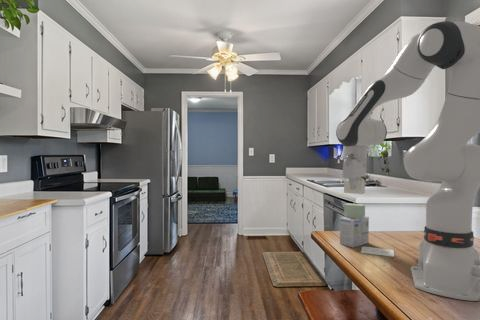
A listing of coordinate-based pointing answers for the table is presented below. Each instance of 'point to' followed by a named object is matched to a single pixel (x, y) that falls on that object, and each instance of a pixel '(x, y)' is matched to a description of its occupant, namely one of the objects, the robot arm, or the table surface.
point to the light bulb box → (354, 231)
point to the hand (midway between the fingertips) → (354, 188)
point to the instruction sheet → (377, 251)
